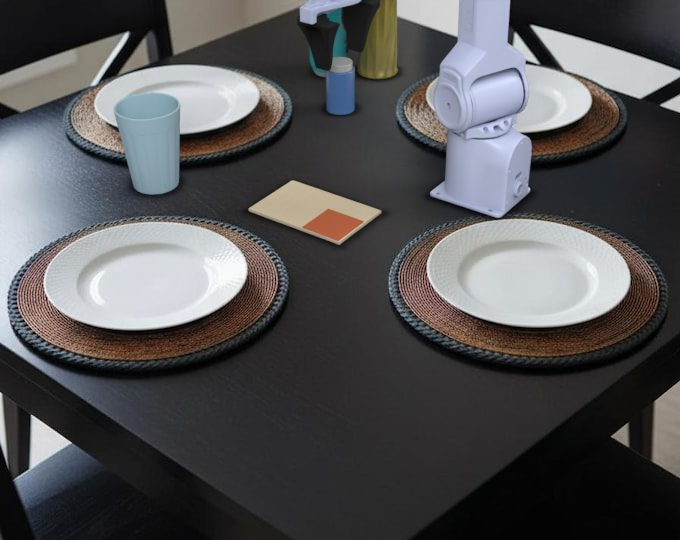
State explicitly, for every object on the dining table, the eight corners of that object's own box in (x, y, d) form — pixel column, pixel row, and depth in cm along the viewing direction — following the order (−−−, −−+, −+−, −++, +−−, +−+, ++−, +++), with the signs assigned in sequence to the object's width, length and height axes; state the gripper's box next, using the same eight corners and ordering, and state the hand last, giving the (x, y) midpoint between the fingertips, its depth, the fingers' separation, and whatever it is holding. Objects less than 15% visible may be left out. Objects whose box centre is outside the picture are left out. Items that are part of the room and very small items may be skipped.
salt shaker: (360, 107, 145) (360, 59, 141) (344, 117, 143) (343, 69, 139) (337, 100, 147) (336, 53, 143) (320, 110, 145) (319, 62, 141)
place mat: (381, 213, 121) (381, 209, 121) (339, 245, 115) (339, 241, 115) (292, 182, 127) (292, 179, 127) (248, 211, 122) (248, 207, 121)
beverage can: (348, 79, 153) (347, -22, 145) (309, 79, 154) (306, -22, 145) (348, 64, 158) (348, -35, 150) (310, 64, 158) (308, -35, 150)
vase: (357, 80, 153) (357, -16, 145) (356, 64, 158) (356, -30, 150) (399, 79, 153) (401, -17, 145) (396, 63, 158) (399, -30, 150)
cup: (110, 188, 127) (99, 109, 121) (153, 163, 132) (144, 86, 126) (157, 205, 123) (148, 125, 117) (200, 179, 128) (193, 101, 123)
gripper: (346, -60, 140) (346, 36, 148) (279, -32, 130) (283, 70, 138) (390, -52, 137) (388, 47, 144) (324, -22, 127) (326, 82, 135)
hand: (339, 59), depth 141 cm, fingers open, 7 cm apart
